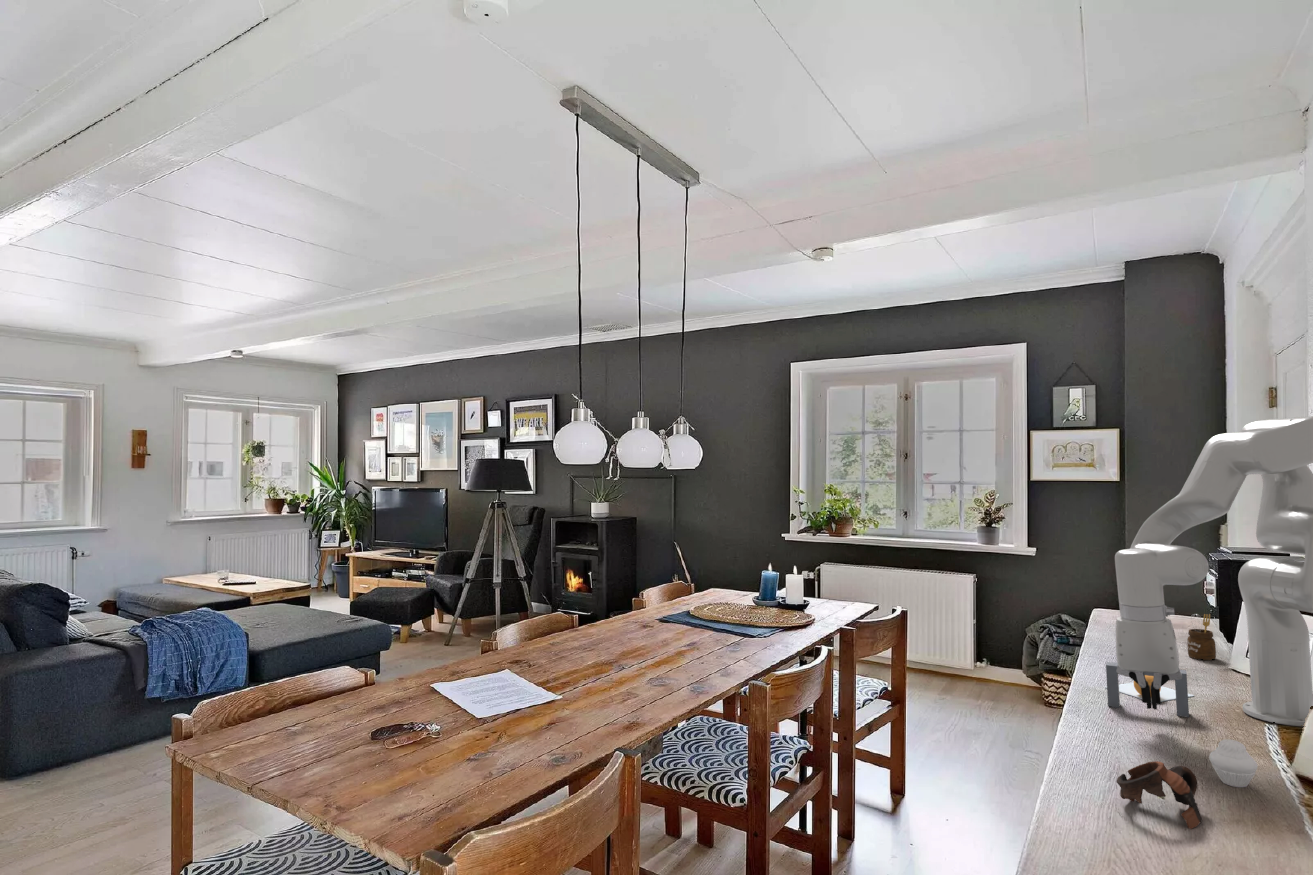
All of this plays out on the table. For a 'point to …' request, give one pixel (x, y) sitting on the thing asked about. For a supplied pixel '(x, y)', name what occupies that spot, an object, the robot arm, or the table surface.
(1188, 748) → the table surface
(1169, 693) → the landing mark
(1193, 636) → the utensil holder
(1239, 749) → the muffin
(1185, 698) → the bridge
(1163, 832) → the table surface
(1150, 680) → the ball
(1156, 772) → the broken clay pot
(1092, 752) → the table surface
